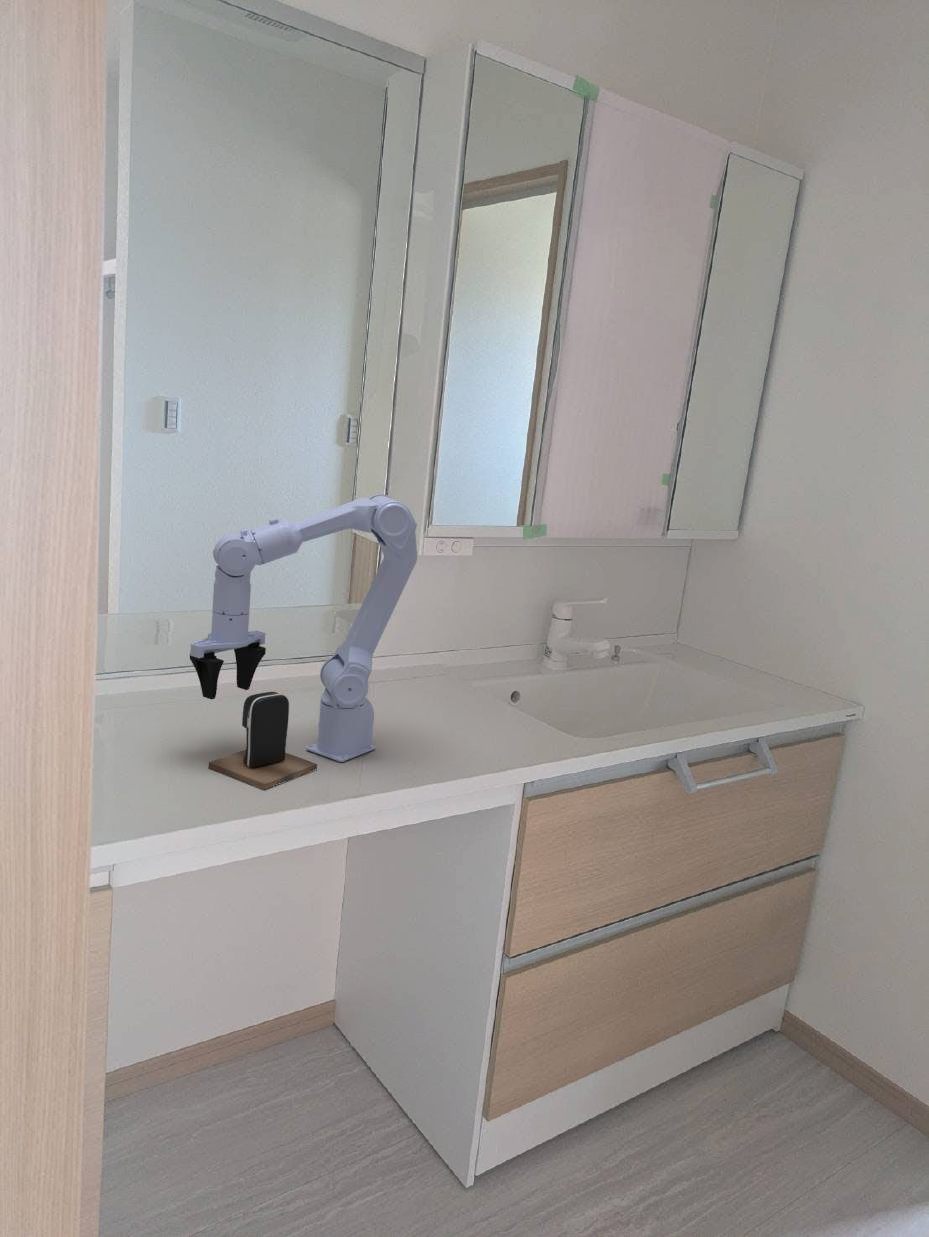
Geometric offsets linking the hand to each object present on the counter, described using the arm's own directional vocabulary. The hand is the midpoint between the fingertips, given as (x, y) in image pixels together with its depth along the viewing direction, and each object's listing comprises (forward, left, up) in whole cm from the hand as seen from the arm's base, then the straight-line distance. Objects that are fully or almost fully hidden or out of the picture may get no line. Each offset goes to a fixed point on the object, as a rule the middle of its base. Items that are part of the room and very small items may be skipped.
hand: (226, 692), depth 161 cm
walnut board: (0, +9, -11) cm, 14 cm away
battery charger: (0, +8, -10) cm, 13 cm away
